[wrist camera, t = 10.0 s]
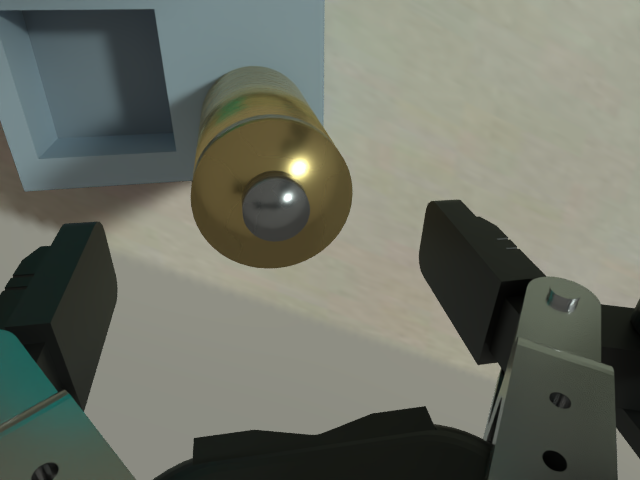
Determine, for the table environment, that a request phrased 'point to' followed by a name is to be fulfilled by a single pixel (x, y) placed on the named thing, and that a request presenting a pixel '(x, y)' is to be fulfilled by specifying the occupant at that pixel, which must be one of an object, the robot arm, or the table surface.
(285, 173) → the gold battery
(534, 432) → the robot arm
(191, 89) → the housing
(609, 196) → the table surface
